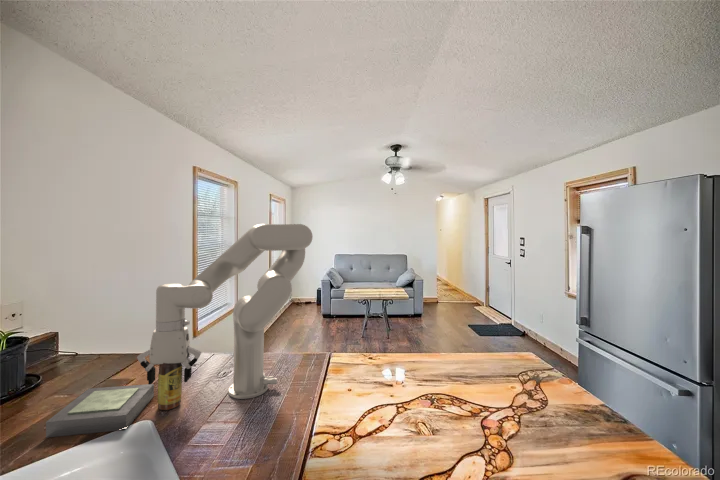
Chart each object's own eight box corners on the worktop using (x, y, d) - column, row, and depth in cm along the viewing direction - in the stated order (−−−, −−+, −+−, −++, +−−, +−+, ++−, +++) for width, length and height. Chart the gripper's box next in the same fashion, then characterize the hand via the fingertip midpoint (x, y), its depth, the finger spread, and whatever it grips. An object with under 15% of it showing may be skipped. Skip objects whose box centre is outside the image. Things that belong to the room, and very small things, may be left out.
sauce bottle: (170, 412, 95) (170, 345, 94) (152, 410, 96) (152, 343, 95) (186, 401, 101) (187, 338, 101) (169, 399, 102) (169, 336, 102)
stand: (153, 396, 104) (153, 382, 104) (126, 429, 86) (126, 413, 86) (88, 401, 100) (88, 387, 100) (45, 437, 82) (45, 420, 82)
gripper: (204, 320, 103) (203, 374, 104) (143, 322, 100) (143, 377, 100) (197, 327, 96) (197, 384, 96) (132, 329, 92) (131, 389, 93)
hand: (169, 381), depth 98 cm, fingers open, 9 cm apart
